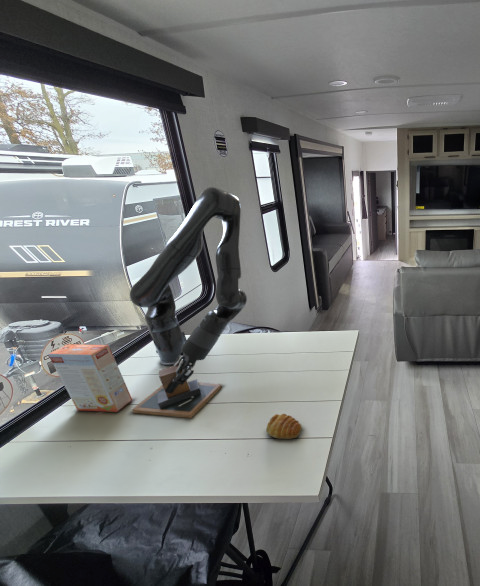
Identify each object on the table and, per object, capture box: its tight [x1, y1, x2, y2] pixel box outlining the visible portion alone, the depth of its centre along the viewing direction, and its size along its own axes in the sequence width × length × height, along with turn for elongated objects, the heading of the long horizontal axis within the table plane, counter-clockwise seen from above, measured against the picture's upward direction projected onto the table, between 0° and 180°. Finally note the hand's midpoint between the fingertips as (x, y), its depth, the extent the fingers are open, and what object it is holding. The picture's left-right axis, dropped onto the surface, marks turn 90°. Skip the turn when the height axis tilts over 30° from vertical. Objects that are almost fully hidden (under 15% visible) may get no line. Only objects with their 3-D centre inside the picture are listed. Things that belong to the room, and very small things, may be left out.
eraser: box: [157, 365, 201, 408], centre depth 97 cm, size 6×11×10 cm, turn 127°
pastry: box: [265, 413, 303, 440], centre depth 85 cm, size 9×7×4 cm
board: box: [131, 382, 222, 419], centre depth 99 cm, size 14×20×1 cm
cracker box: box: [47, 343, 133, 413], centre depth 94 cm, size 14×6×21 cm, turn 84°
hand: (167, 388), depth 96 cm, fingers closed on eraser, 4 cm apart
